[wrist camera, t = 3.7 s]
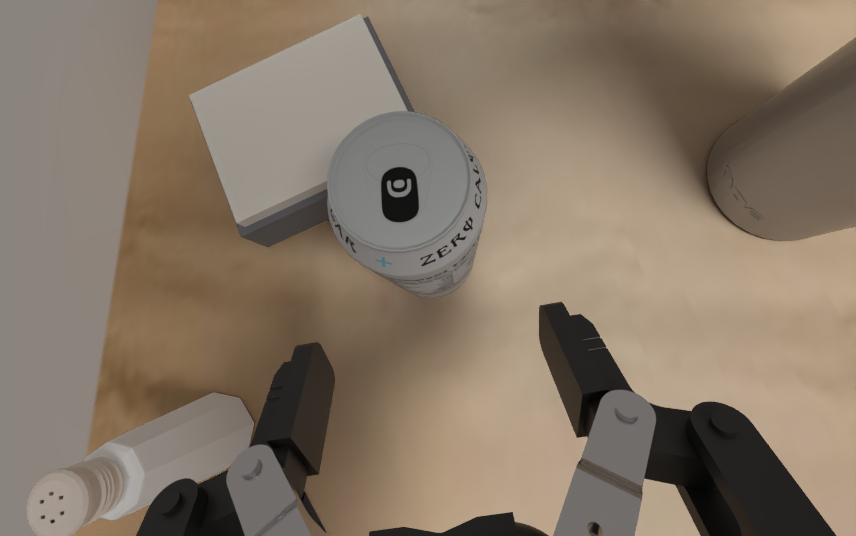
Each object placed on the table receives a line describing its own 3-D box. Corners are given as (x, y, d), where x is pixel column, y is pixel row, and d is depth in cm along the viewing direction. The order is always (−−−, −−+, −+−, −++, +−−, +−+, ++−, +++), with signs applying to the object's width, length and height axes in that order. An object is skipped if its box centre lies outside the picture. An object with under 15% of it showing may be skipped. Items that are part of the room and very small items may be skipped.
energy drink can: (469, 213, 27) (482, 83, 12) (477, 295, 26) (500, 262, 11) (388, 220, 27) (306, 104, 13) (393, 301, 27) (310, 278, 12)
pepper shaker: (179, 399, 27) (-9, 453, 16) (250, 383, 27) (106, 427, 16) (188, 477, 26) (-6, 590, 15) (261, 462, 26) (117, 565, 15)
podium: (378, 52, 29) (364, 4, 25) (435, 169, 28) (430, 140, 23) (221, 126, 30) (180, 92, 25) (268, 247, 28) (231, 233, 24)
